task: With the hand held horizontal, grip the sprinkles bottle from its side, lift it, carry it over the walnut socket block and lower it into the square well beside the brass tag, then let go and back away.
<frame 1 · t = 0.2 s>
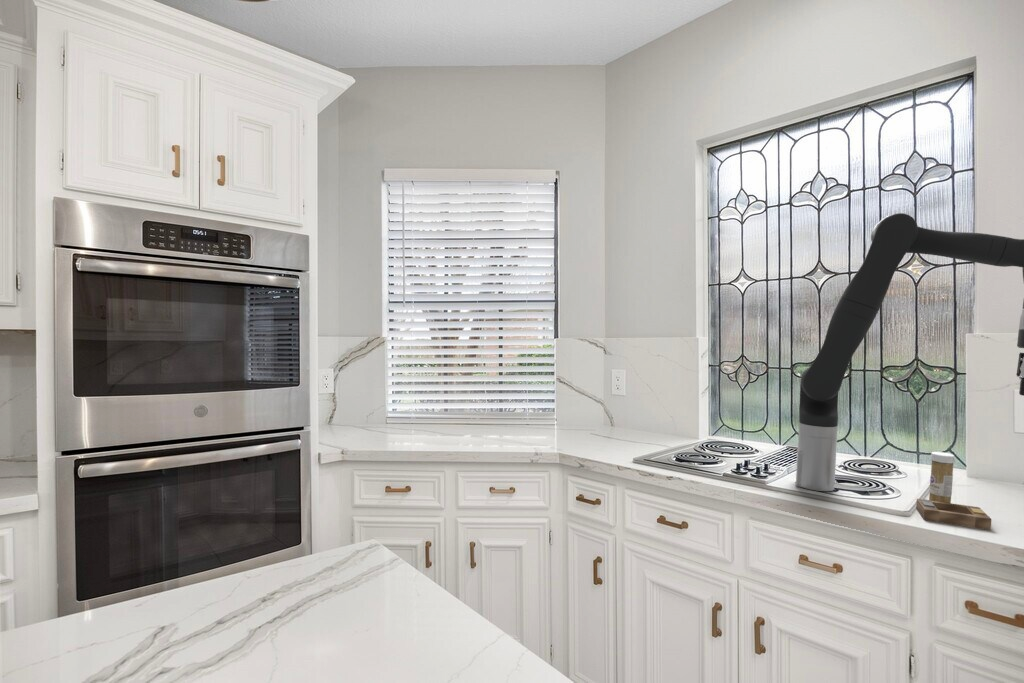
slate tag: (927, 504, 131), resting on socket block
socket block: (951, 518, 129), on the counter
brass tag: (977, 511, 127), resting on socket block
sprinkles bottle: (939, 508, 137), on the counter
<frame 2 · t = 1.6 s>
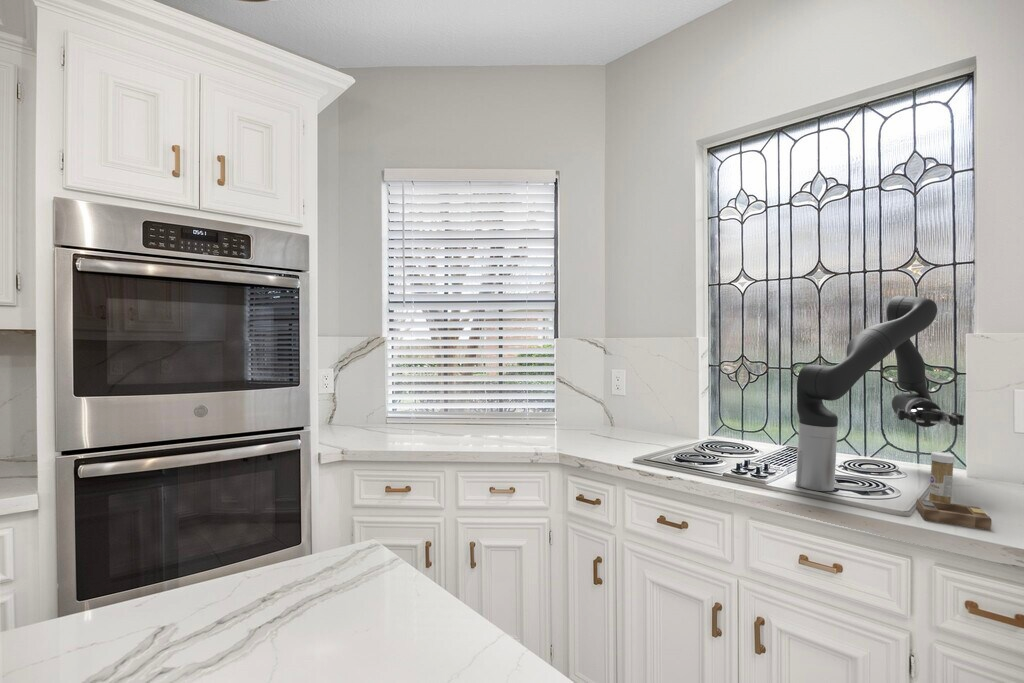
hand: (934, 420, 146), 20 cm above the counter, tool horizontal, fingers open, 8 cm apart
nothing on the counter moved.
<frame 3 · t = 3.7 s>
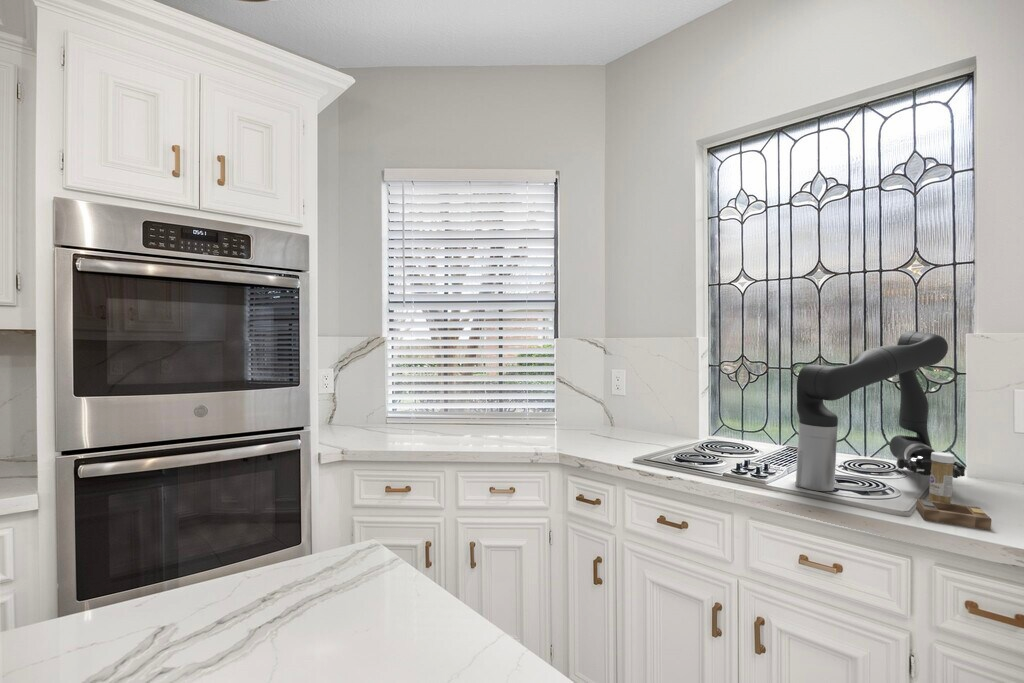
hand: (935, 471, 143), 8 cm above the counter, tool horizontal, fingers open, 8 cm apart
nothing on the counter moved.
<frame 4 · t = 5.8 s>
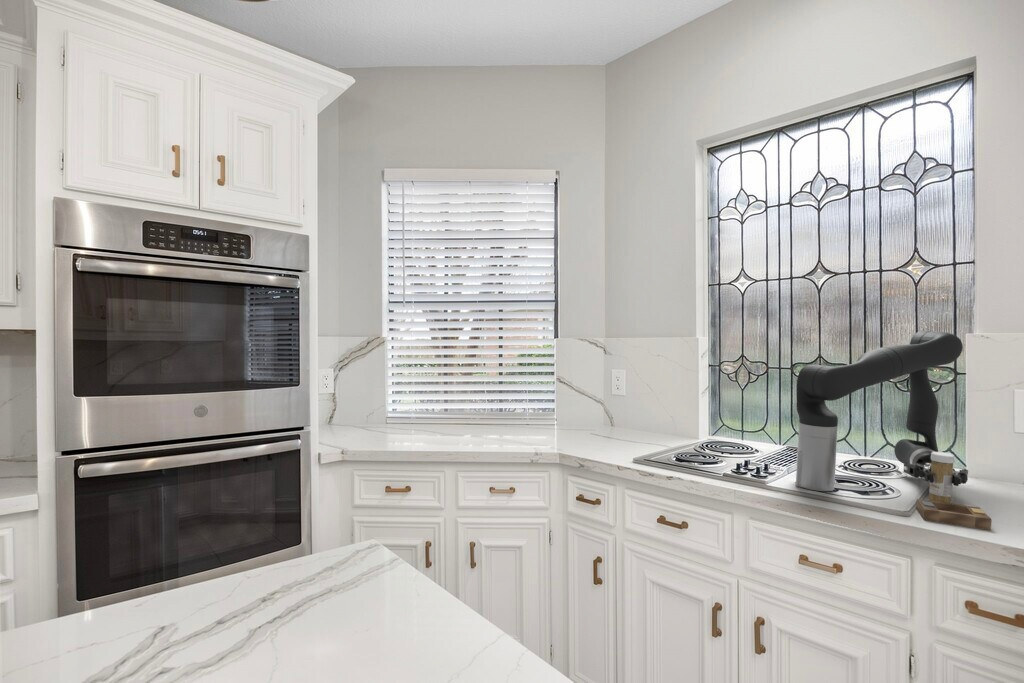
hand: (944, 479, 135), 8 cm above the counter, tool horizontal, fingers closed on sprinkles bottle, 4 cm apart
sprinkles bottle: (939, 508, 137), on the counter, touching gripper
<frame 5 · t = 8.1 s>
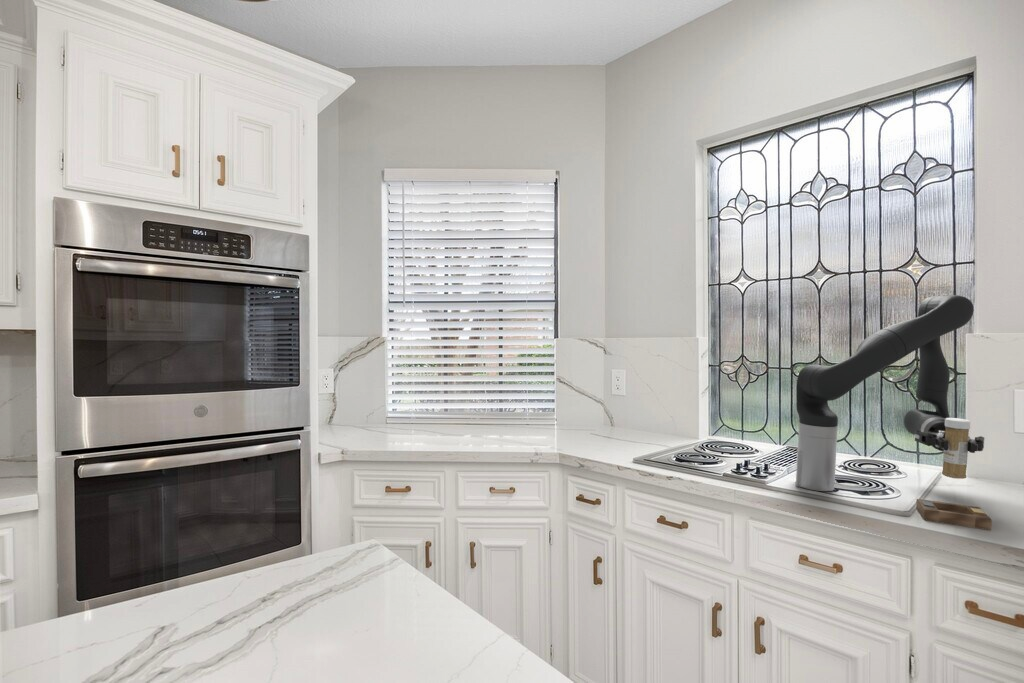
hand: (959, 446, 126), 17 cm above the counter, tool horizontal, fingers closed on sprinkles bottle, 4 cm apart
sprinkles bottle: (954, 477, 129), point 10 cm above the counter, touching gripper
when the fingers open (8 cm above the counter, at t = 10.4 s): sprinkles bottle stays where it is, resting in socket block.
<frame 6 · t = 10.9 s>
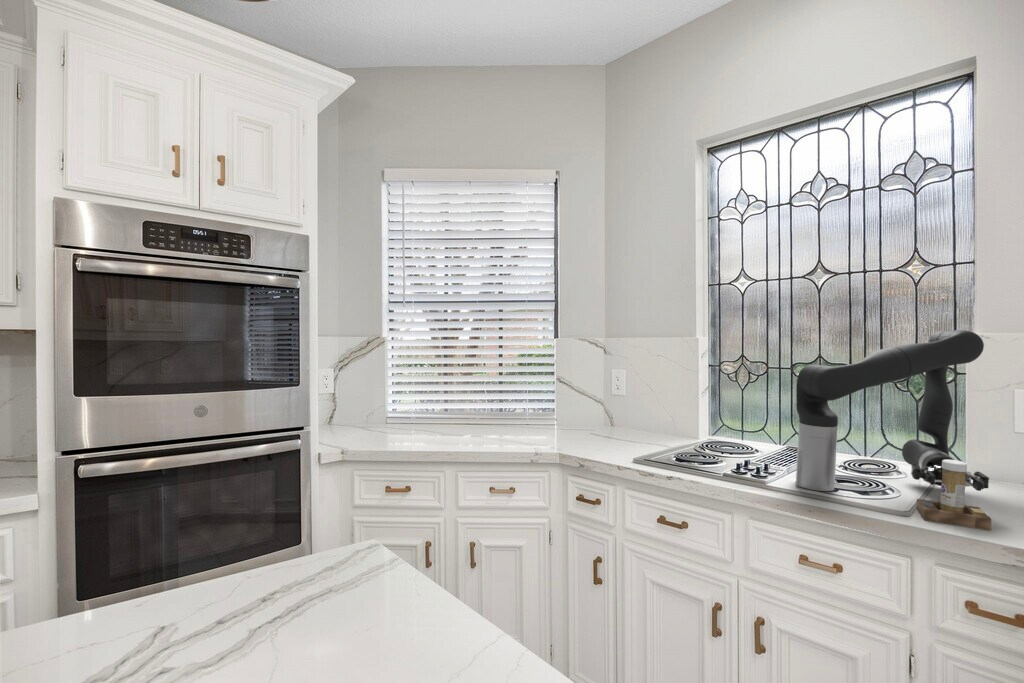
hand: (955, 483, 127), 9 cm above the counter, tool horizontal, fingers open, 8 cm apart
sprinkles bottle: (951, 519, 129), resting in socket block
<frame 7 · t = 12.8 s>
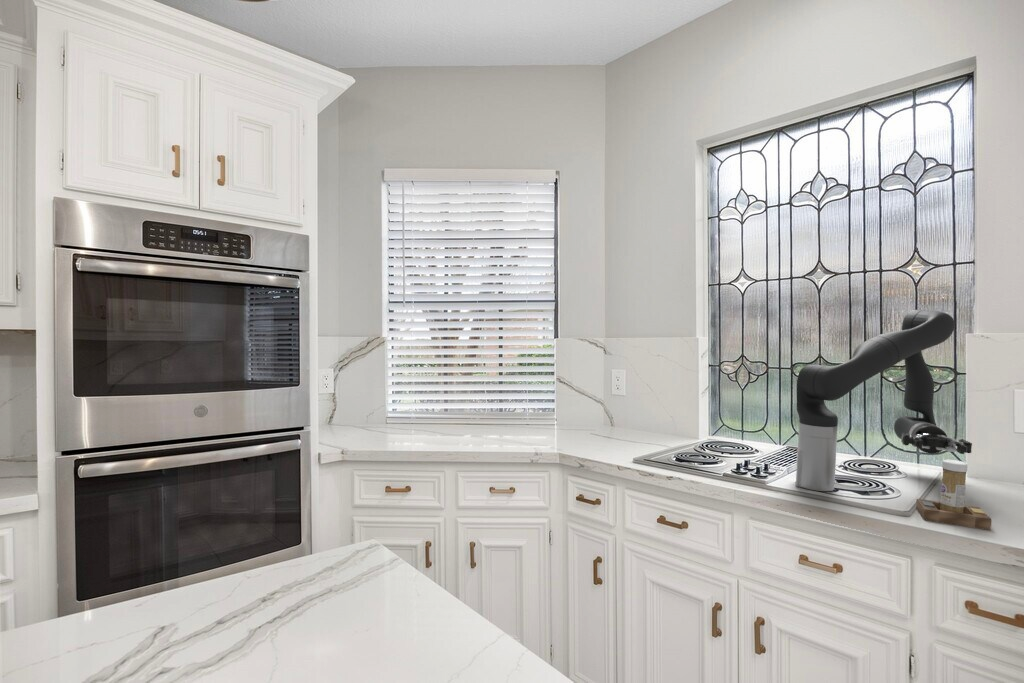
hand: (941, 447, 139), 15 cm above the counter, tool horizontal, fingers open, 8 cm apart
nothing on the counter moved.
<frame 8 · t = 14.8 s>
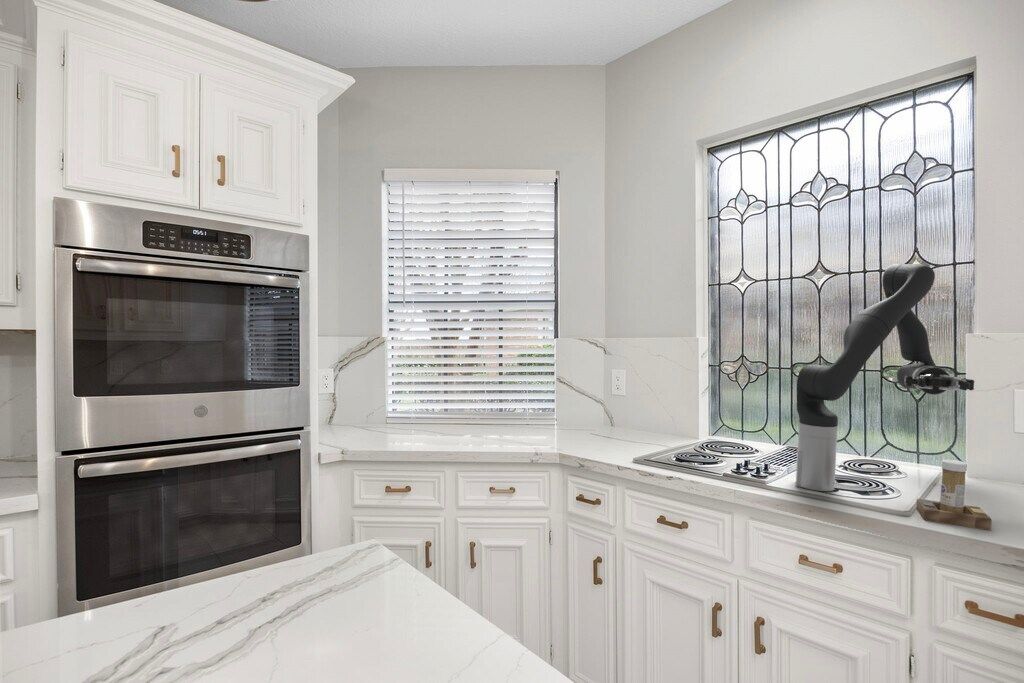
hand: (944, 384, 141), 30 cm above the counter, tool horizontal, fingers open, 8 cm apart
nothing on the counter moved.
at the end: sprinkles bottle 0.1 cm off-centre on the socket block, point 0.0 cm above the socket block's base; sprinkles bottle tilted 0°; the gripper is holding nothing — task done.
